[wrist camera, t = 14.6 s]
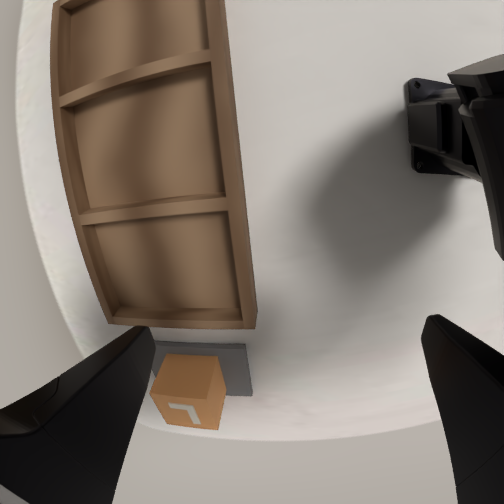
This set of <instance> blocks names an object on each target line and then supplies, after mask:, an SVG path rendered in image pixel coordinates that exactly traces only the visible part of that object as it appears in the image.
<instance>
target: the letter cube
mask: <svg viewBox="0 0 504 504" xmlns="http://www.w3.org/2000/svg"><path fill="white" fill-rule="evenodd" d="M149 394H150V395H151V397H152V399H153V401H154V403H155V404H156V406H157V408H158V410H159V411H160V413H161V415H162V416H163V418H164V420H165V421H166V423H167V424H171V425H178V426H185V427H193V428H202V429H212V430H218V428H219V423H220V419H221V414H222V409H223V404H224V399H225V395H226V386H225V382H224V378H223V375H222V371H221V367H220V363H219V359H218V356H200V355H182V354H166V356H165V358H164V361H163V363H162V365H161V367H160V370H159V372H158V374H157V376H156V379H155V381H154V383H153V386H152V388H151V390H150V393H149Z"/></svg>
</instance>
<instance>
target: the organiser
mask: <svg viewBox="0 0 504 504" xmlns="http://www.w3.org/2000/svg"><path fill="white" fill-rule="evenodd" d="M50 77H51V97H52V109H53V119H54V128H55V136H56V143H57V150H58V156H59V162H60V167H61V173H62V178H63V183H64V187H65V192H66V196H67V201H68V205H69V209H70V213H71V217H72V221H73V224H74V228H75V231H76V235H77V238H78V242H79V245H80V248H81V252H82V255H83V258H84V261H85V264H86V267H87V270H88V273H89V276H90V278H91V281H92V284H93V287H94V289H95V292H96V295H97V297H98V300H99V302H100V305H101V307H102V310H103V312H104V315H105V317H106V319H107V322H108V324H117V325H130V326H137V325H142V326H148V327H162V328H187V329H255V326H256V319H257V312H258V311H257V302H256V292H255V283H254V274H253V264H252V255H251V246H250V236H249V227H248V218H247V208H246V199H245V190H244V180H243V171H242V162H241V152H240V143H239V133H238V124H237V114H236V105H235V96H234V86H233V77H232V67H231V58H230V48H229V39H228V29H227V20H226V10H225V1H224V0H58V1H56V2H55V3H53V10H52V21H51V40H50Z"/></svg>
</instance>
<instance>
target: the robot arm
mask: <svg viewBox="0 0 504 504" xmlns="http://www.w3.org/2000/svg"><path fill="white" fill-rule="evenodd" d="M447 75H448V77H449V79H450V81H451V83H452V84H454V85H452V84H447V83H443V82H438V81H432V80H427V79H421V78H412V79H410V80H409V82H408V87H409V99H410V104H409V105H408V125H409V142H410V144H411V147H412V157H411V165H412V168H413V170H414V171H416V172H418V173H430V174H448V175H462V176H467V177H470V178H472V179H475V180H477V181H479V182H481V183H483V188H484V192H485V196H486V201H487V206H488V211H489V216H490V221H491V227H492V234H493V240H494V246H495V249H496V251H497V252H498V254H499V255H500V257H501V258H502V260H503V261H504V54H502V55H498V56H494V57H491V58H488V59H485V60H483V61H480V62H477V63H474V64H471V65H469V66H466V67H463V68H461V69H458V70H455V71H453V72H450V73H448V74H447ZM414 82H416V83H417V84H418V88H415V86H414ZM418 162H420V163H421V166H420V168H417V163H418ZM421 342H422V347H423V351H424V355H425V359H426V364H427V369H428V373H429V378H430V382H431V385H432V388H433V392H434V395H435V398H436V402H437V405H438V409H439V412H440V416H441V419H442V423H443V427H444V431H445V435H446V439H447V444H448V448H449V452H450V457H451V462H452V467H453V473H454V479H455V484H456V486H457V487H456V493H457V500H458V504H504V355H502V354H501V353H499V352H498V351H496V350H495V349H493V348H492V347H490V346H489V345H487V344H486V343H484V342H483V341H481V340H479V339H478V338H476V337H475V336H473V335H472V334H470V333H469V332H467V331H465V330H464V329H462V328H461V327H459V326H457V325H456V324H454V323H453V322H451V321H449V320H448V319H446V318H445V317H443V316H441V315H440V314H435V315H429V316H428V317H427V319H426V322H425V325H424V328H423V332H422V335H421ZM155 352H156V345H155V342H154V339H153V336H152V334H151V331H150V329H149V327H148V326H142V325H137V326H135V327H133V328H131V329H130V330H128V331H127V332H125V333H124V334H122V335H121V336H119V337H118V338H116V339H115V340H113V341H112V342H110V343H109V344H107V345H105V346H104V347H102V348H101V349H99V350H98V351H96V352H95V353H93V354H92V355H90V356H89V357H87V358H86V359H84V360H83V361H81V362H80V363H78V364H76V365H75V366H73V367H72V368H70V369H69V370H67V371H66V372H64V373H63V374H61V375H60V377H57V378H55V379H54V380H52V381H51V382H49V383H47V384H46V385H44V386H43V387H41V388H39V389H37V390H36V391H34V392H32V393H30V394H29V395H27V396H25V397H23V398H21V399H19V400H17V401H16V402H14V403H12V404H10V405H8V406H6V407H4V408H2V409H0V504H112V501H113V498H114V494H115V490H116V486H117V482H118V479H119V475H120V472H121V469H122V465H123V462H124V458H125V455H126V451H127V448H128V445H129V442H130V439H131V435H132V432H133V429H134V426H135V423H136V420H137V417H138V414H139V411H140V408H141V405H142V402H143V399H144V396H145V393H146V390H147V386H148V382H149V378H150V373H151V369H152V365H153V360H154V356H155Z"/></svg>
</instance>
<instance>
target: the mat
mask: <svg viewBox="0 0 504 504" xmlns="http://www.w3.org/2000/svg"><path fill="white" fill-rule="evenodd" d="M154 342H155V345H156V352H155V356H154V360H153V365H152V371H153V373H154V375H155V377H156V376H157V374H158V372H159V370H160V367H161V365H162V363H163V361H164V358H165V356H166V354H182V355H200V356H218V359H219V363H220V367H221V371H222V375H223V378H224V382H225V386H226V395H229V396H252V393H253V391H252V385H251V379H250V373H249V366H248V360H247V354H246V347H245V344H203V343H180V342H164V341H154Z"/></svg>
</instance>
